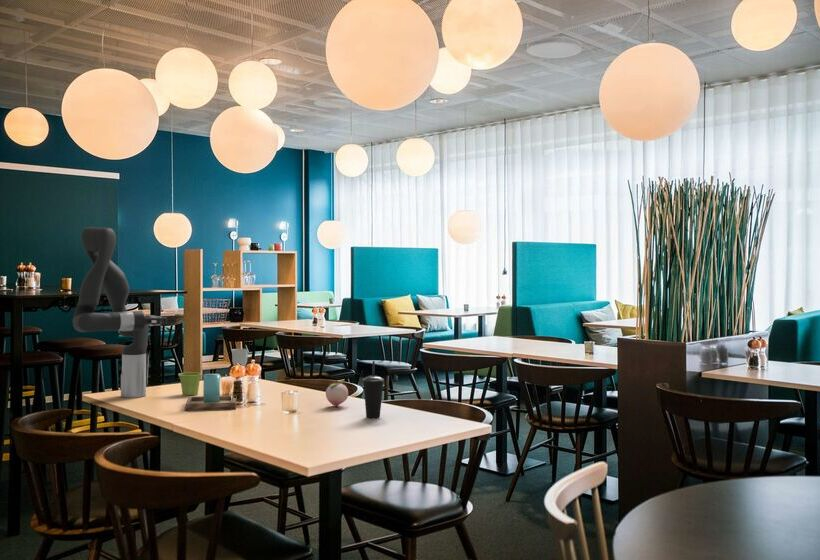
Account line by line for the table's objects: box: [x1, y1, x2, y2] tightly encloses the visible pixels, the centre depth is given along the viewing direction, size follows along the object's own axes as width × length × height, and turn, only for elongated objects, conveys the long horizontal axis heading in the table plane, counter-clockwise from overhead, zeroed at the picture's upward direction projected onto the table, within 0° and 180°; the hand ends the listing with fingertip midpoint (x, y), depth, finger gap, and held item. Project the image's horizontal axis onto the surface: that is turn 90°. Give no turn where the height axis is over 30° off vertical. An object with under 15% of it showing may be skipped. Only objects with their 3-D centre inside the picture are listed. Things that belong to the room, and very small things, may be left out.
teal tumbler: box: [202, 373, 221, 403], centre depth 285 cm, size 6×6×11 cm
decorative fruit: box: [325, 380, 349, 407], centre depth 287 cm, size 9×8×10 cm
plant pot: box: [177, 371, 203, 397], centre depth 311 cm, size 9×9×9 cm
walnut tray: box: [185, 395, 237, 411], centre depth 285 cm, size 18×16×2 cm
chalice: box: [230, 348, 249, 367], centre depth 320 cm, size 7×7×18 cm
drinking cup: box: [362, 360, 385, 419], centre depth 267 cm, size 8×8×20 cm
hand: (171, 319), depth 295 cm, fingers open, 8 cm apart
